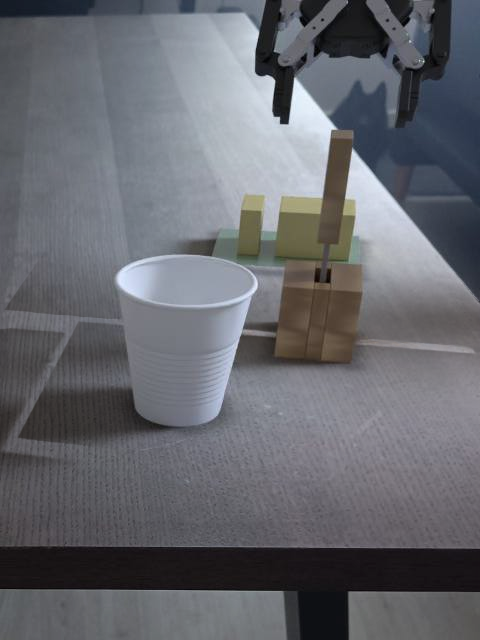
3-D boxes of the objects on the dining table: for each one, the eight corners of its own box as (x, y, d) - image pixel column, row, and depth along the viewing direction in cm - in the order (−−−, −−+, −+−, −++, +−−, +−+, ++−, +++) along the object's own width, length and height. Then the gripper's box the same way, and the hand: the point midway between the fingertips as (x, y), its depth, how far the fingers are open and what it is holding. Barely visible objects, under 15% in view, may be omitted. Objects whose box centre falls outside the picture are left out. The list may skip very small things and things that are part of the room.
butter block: (349, 243, 104) (355, 199, 101) (349, 261, 100) (355, 215, 97) (277, 239, 105) (281, 195, 103) (274, 256, 101) (279, 211, 99)
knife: (323, 338, 87) (353, 129, 77) (323, 351, 84) (353, 138, 75) (304, 336, 87) (331, 129, 78) (303, 349, 85) (330, 138, 76)
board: (357, 250, 106) (359, 235, 106) (357, 286, 98) (360, 271, 97) (218, 242, 110) (219, 228, 109) (208, 276, 102) (209, 261, 101)
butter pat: (261, 238, 106) (265, 195, 103) (257, 255, 102) (262, 210, 99) (241, 237, 106) (245, 194, 104) (236, 254, 102) (240, 209, 100)
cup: (267, 438, 75) (283, 295, 69) (137, 459, 73) (143, 315, 67) (210, 379, 83) (221, 247, 77) (93, 397, 81) (95, 263, 75)
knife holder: (349, 343, 88) (362, 264, 84) (349, 374, 83) (362, 292, 79) (277, 337, 89) (286, 259, 86) (273, 367, 85) (282, 286, 81)
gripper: (273, -97, 80) (247, 90, 77) (470, -101, 77) (451, 95, 74) (270, -30, 88) (246, 144, 84) (450, -31, 84) (432, 151, 81)
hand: (342, 121), depth 79 cm, fingers open, 8 cm apart
